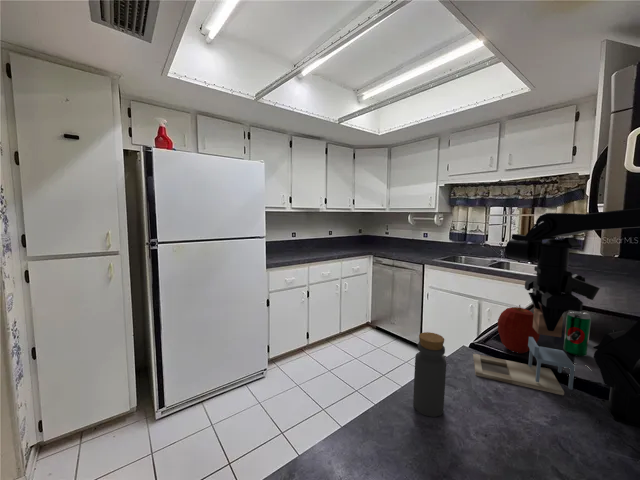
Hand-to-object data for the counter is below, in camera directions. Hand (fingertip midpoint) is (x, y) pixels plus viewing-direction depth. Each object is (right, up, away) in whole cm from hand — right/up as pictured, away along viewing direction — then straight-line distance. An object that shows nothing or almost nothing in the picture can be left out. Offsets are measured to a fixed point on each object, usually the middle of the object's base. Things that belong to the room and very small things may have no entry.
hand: (547, 327), depth 69 cm
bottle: (-34, -13, -12) cm, 38 cm away
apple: (+1, -11, +12) cm, 16 cm away
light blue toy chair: (-2, -11, -3) cm, 11 cm away
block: (0, -1, 0) cm, 1 cm away
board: (-8, -12, 0) cm, 14 cm away
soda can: (+17, -11, +11) cm, 23 cm away
